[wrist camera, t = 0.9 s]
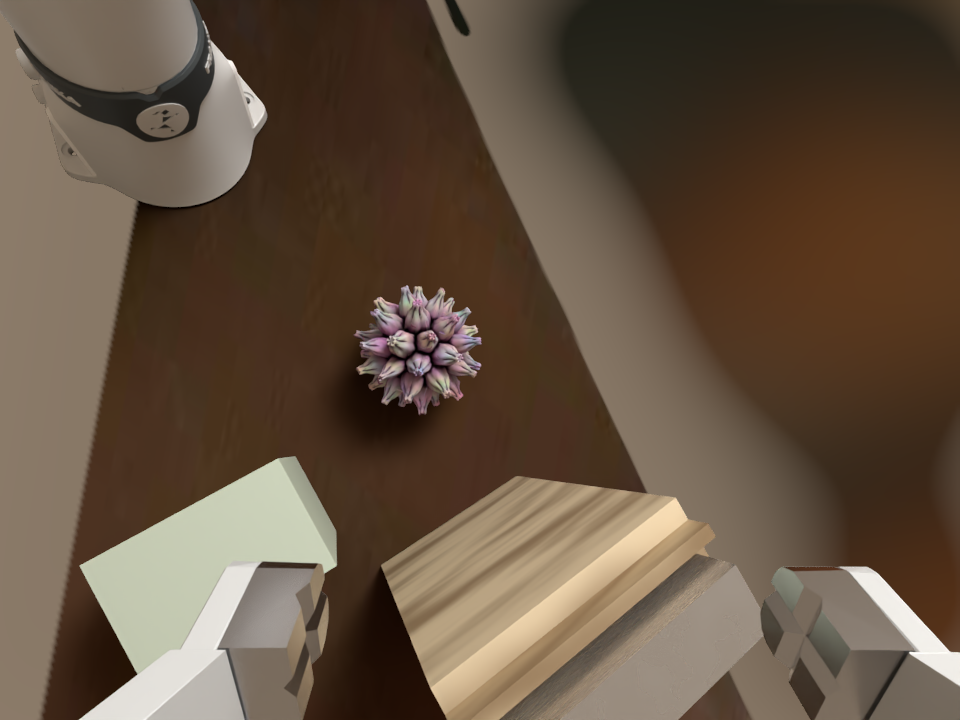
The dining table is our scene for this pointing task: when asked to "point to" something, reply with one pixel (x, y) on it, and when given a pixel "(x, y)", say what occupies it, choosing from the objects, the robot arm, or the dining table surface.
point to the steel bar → (655, 651)
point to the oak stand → (531, 584)
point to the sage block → (206, 555)
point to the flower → (418, 349)
